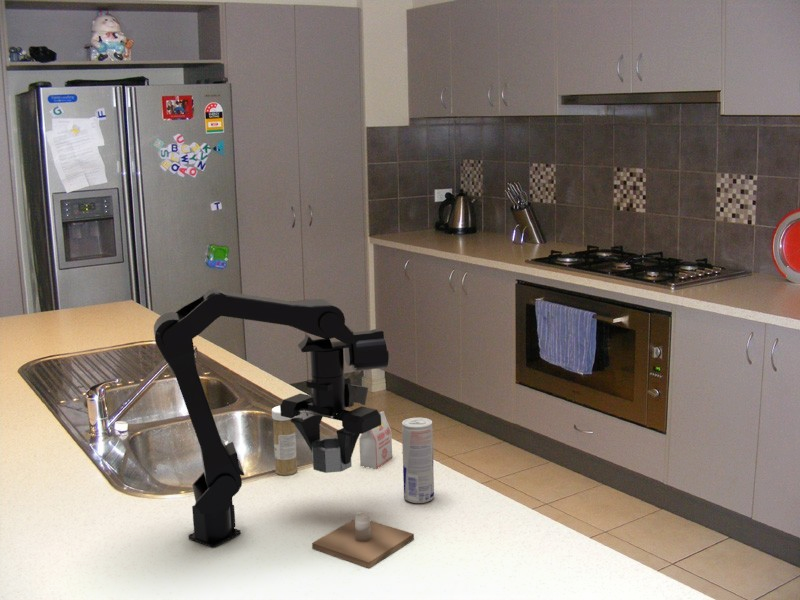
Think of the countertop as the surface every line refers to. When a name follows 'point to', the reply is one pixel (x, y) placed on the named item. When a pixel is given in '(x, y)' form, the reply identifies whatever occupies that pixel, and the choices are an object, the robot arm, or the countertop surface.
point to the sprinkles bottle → (284, 443)
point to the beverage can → (418, 460)
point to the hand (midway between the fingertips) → (331, 459)
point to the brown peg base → (363, 541)
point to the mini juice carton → (376, 445)
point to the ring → (328, 455)
